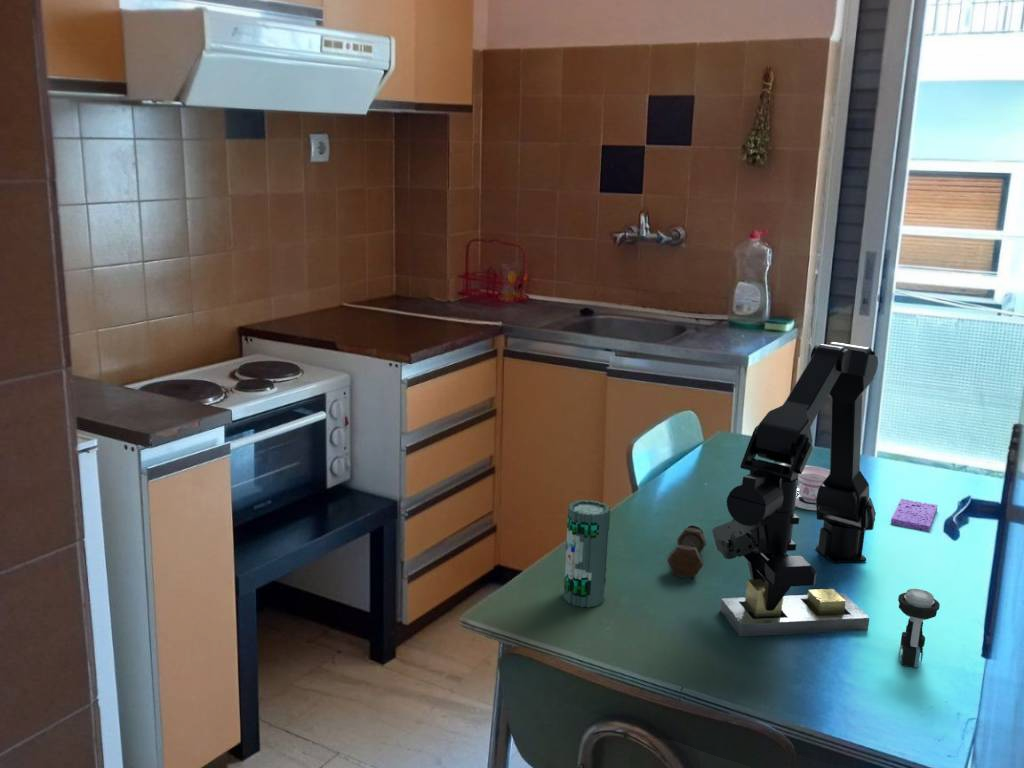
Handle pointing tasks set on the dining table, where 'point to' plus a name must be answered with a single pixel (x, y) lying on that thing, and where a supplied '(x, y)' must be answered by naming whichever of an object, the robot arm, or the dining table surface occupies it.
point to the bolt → (688, 553)
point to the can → (586, 553)
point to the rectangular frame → (792, 618)
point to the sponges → (914, 515)
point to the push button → (915, 623)
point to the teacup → (810, 485)
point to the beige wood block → (759, 599)
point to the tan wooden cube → (825, 602)
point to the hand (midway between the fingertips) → (763, 603)
